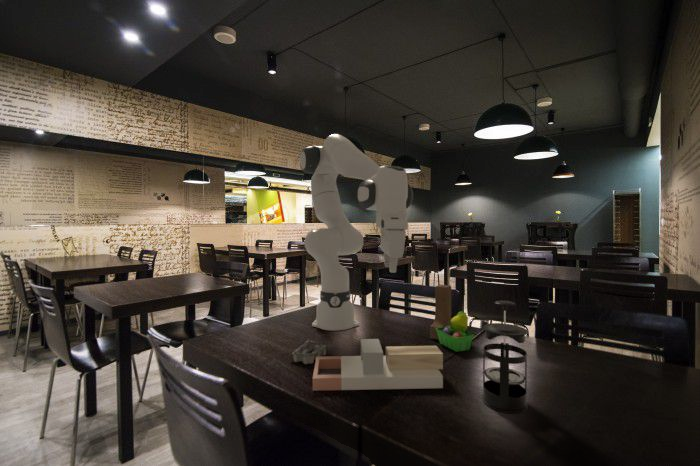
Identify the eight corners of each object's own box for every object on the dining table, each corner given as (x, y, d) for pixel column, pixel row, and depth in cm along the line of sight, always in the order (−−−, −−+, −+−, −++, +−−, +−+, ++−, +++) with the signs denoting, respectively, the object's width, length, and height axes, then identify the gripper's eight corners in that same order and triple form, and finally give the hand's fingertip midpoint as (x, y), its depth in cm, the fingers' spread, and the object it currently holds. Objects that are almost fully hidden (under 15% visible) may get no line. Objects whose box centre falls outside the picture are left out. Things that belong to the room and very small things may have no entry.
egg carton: (310, 350, 113) (310, 337, 113) (329, 354, 109) (329, 341, 109) (288, 361, 104) (288, 347, 103) (309, 366, 100) (308, 352, 100)
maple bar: (385, 361, 95) (385, 346, 95) (436, 360, 96) (436, 345, 96) (388, 370, 89) (388, 354, 89) (442, 369, 90) (443, 353, 90)
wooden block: (441, 341, 120) (441, 289, 120) (429, 338, 123) (429, 287, 122) (451, 334, 127) (451, 285, 127) (439, 332, 130) (439, 284, 129)
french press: (528, 419, 72) (529, 308, 71) (480, 409, 76) (480, 304, 75) (526, 394, 82) (526, 297, 82) (483, 386, 86) (484, 294, 86)
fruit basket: (434, 342, 119) (434, 309, 118) (455, 339, 122) (455, 307, 122) (455, 354, 108) (455, 318, 108) (478, 350, 111) (478, 315, 111)
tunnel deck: (316, 367, 99) (316, 337, 98) (428, 365, 100) (428, 336, 99) (312, 390, 85) (312, 356, 84) (442, 388, 86) (442, 354, 85)
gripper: (376, 220, 110) (375, 264, 111) (385, 222, 90) (383, 275, 91) (396, 221, 111) (394, 264, 111) (409, 223, 90) (407, 276, 91)
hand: (390, 269), depth 101 cm, fingers open, 8 cm apart
